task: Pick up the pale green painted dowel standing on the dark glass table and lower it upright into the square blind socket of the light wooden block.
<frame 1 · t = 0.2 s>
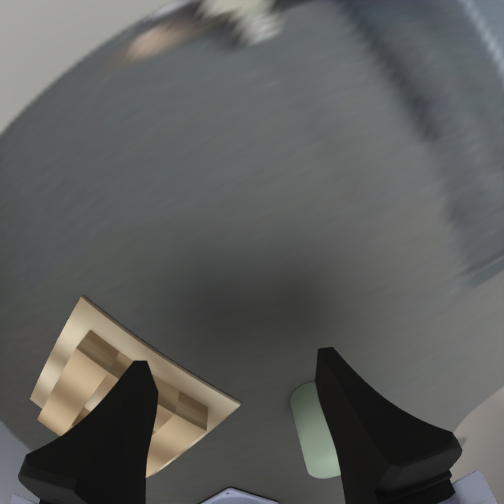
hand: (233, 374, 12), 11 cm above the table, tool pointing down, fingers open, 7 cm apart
socket block: (120, 405, 25), on the table
dowel: (311, 398, 26), on the table
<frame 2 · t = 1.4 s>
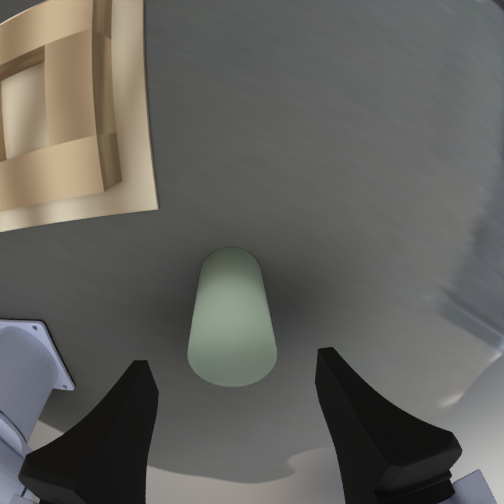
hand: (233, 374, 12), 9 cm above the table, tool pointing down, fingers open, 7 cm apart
socket block: (36, 108, 15), on the table
dowel: (230, 275, 21), on the table
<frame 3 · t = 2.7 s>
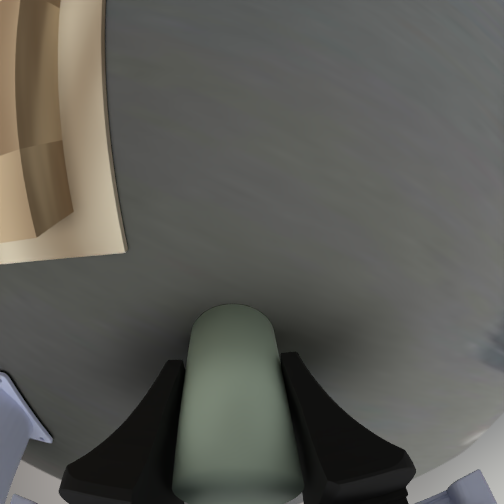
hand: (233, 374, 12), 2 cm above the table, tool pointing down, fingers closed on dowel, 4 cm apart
dowel: (232, 338, 15), on the table, touching gripper
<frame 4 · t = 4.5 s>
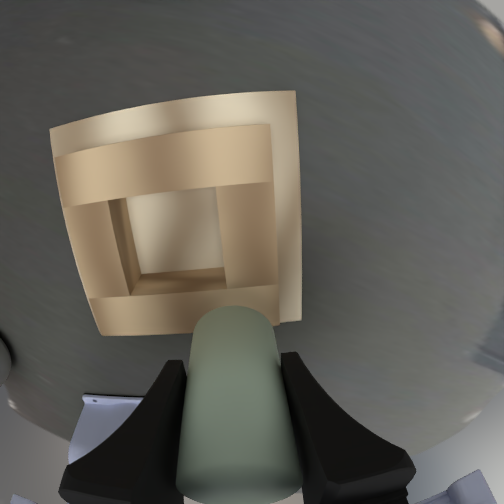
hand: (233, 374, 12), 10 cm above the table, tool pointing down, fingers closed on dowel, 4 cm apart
socket block: (177, 226, 20), on the table
dowel: (233, 339, 15), point 7 cm above the table, touching gripper
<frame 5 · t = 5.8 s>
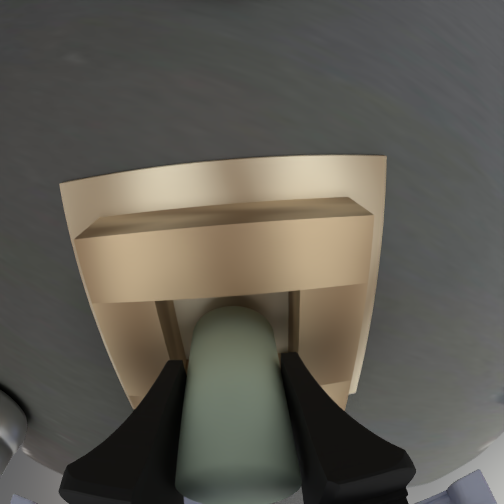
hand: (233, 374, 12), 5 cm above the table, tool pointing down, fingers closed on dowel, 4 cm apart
socket block: (232, 311, 17), on the table
plastic bottle: (7, 399, 20), on the table
dowel: (233, 339, 15), point 2 cm above the table, touching gripper
when the fingers open (4 cm above the table, at t = 6.7 s): dowel drops 1 cm, resting on socket block.
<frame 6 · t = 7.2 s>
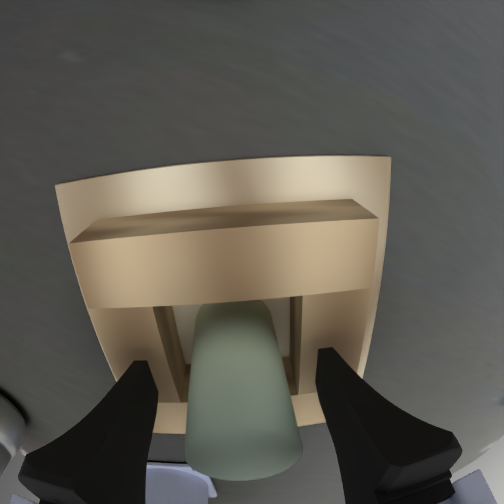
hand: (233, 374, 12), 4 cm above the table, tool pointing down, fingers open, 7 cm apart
socket block: (232, 315, 16), on the table
plastic bottle: (5, 402, 20), on the table
dowel: (233, 324, 16), resting on socket block
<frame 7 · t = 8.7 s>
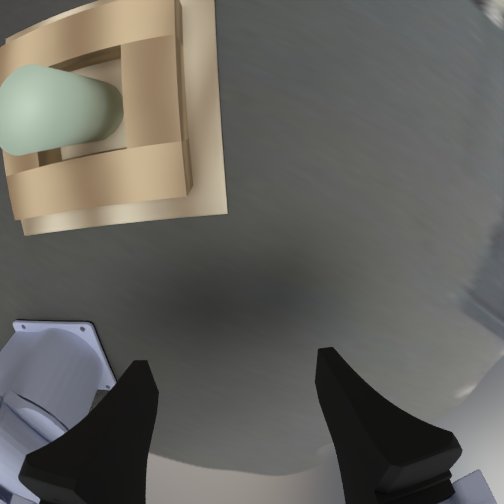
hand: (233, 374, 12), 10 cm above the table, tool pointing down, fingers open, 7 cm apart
socket block: (97, 107, 17), on the table
dowel: (95, 111, 17), resting on socket block
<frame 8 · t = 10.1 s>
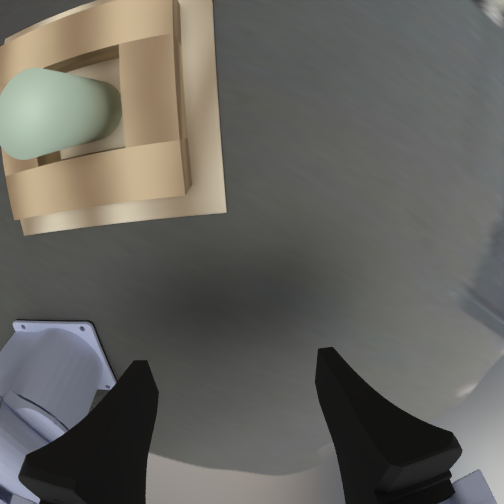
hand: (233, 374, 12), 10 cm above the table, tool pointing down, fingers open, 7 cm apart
socket block: (96, 107, 17), on the table
dowel: (94, 111, 17), resting on socket block
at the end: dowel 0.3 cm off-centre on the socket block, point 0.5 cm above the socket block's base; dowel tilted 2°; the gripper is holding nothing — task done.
